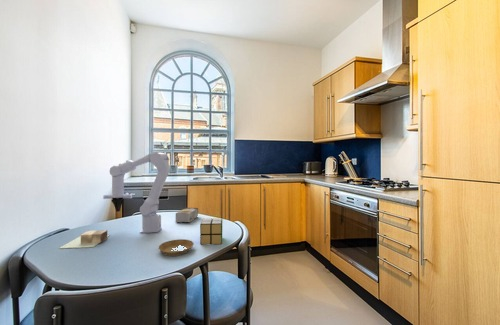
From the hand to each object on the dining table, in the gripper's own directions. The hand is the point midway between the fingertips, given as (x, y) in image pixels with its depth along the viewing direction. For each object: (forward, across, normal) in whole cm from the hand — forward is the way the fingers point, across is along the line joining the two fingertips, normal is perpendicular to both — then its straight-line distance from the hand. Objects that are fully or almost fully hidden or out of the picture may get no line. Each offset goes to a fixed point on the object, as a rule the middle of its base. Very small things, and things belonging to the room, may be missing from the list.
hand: (118, 211), depth 130 cm
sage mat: (+10, -7, -18) cm, 22 cm away
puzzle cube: (+11, +53, -24) cm, 59 cm away
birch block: (+8, +1, -18) cm, 20 cm away
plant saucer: (+11, +38, -34) cm, 52 cm away
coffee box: (+7, +34, +9) cm, 36 cm away
